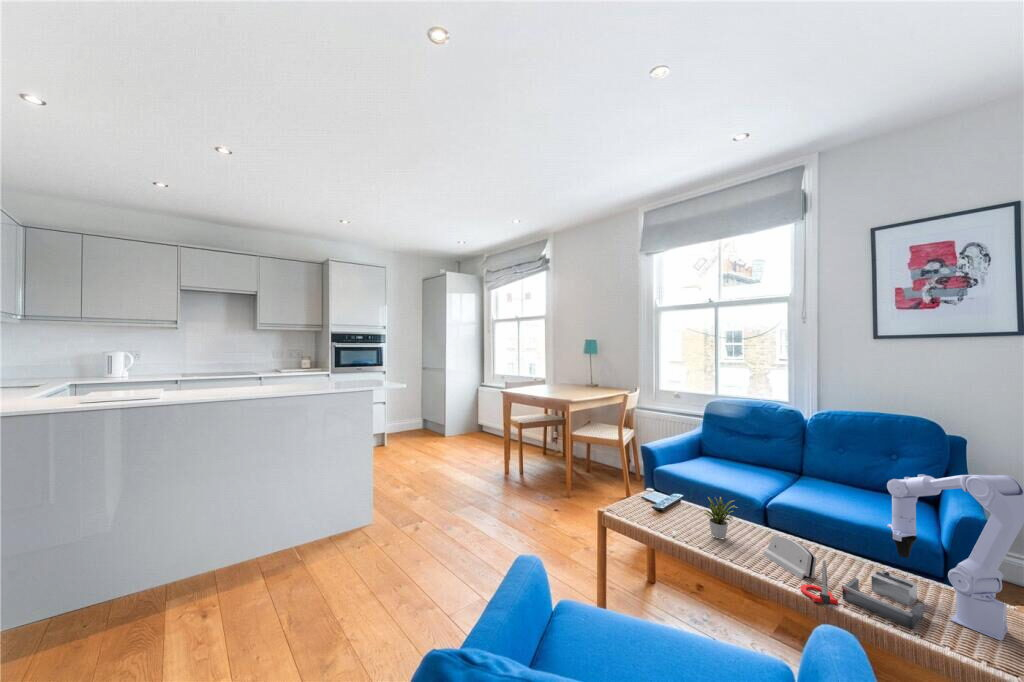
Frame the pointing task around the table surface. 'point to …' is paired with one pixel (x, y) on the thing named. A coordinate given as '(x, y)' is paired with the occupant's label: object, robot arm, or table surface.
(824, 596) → the red handled scissors
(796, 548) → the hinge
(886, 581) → the block
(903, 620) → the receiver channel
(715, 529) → the house plant
